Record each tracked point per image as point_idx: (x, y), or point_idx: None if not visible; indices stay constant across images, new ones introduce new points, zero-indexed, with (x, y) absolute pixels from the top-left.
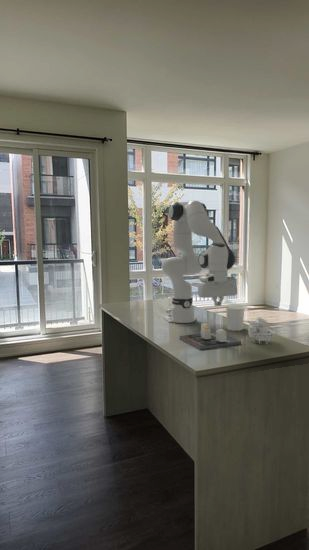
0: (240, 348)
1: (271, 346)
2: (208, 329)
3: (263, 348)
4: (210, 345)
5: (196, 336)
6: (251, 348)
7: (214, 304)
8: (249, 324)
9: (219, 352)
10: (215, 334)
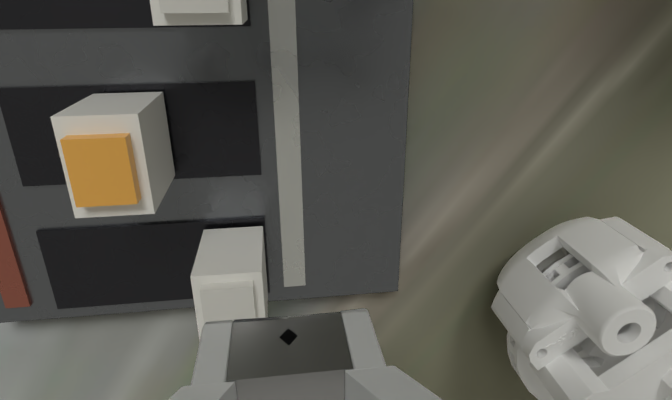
0: None
1: None
2: (123, 209)
3: (461, 383)
4: (102, 313)
5: (62, 17)
6: (394, 365)
7: (200, 339)
8: (585, 309)
9: (141, 380)
10: (320, 11)
